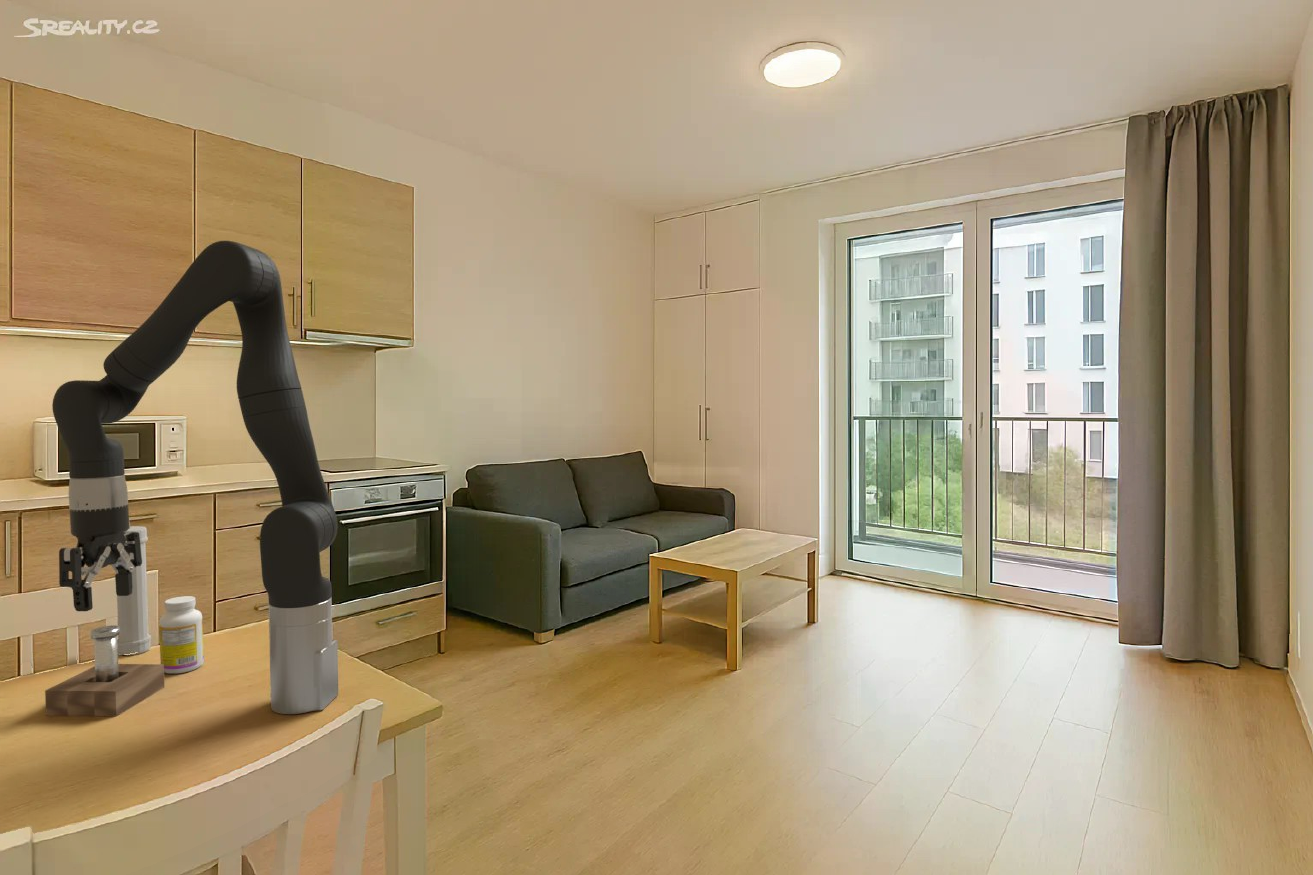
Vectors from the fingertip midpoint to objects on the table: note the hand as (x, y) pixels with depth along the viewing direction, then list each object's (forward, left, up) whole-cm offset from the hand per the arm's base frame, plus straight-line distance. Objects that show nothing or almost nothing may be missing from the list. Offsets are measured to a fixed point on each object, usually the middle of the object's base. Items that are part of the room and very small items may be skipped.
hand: (105, 602), depth 116 cm
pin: (0, 0, -16) cm, 16 cm away
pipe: (+12, -22, -17) cm, 30 cm away
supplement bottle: (-3, -14, -17) cm, 22 cm away
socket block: (0, 0, -16) cm, 16 cm away
